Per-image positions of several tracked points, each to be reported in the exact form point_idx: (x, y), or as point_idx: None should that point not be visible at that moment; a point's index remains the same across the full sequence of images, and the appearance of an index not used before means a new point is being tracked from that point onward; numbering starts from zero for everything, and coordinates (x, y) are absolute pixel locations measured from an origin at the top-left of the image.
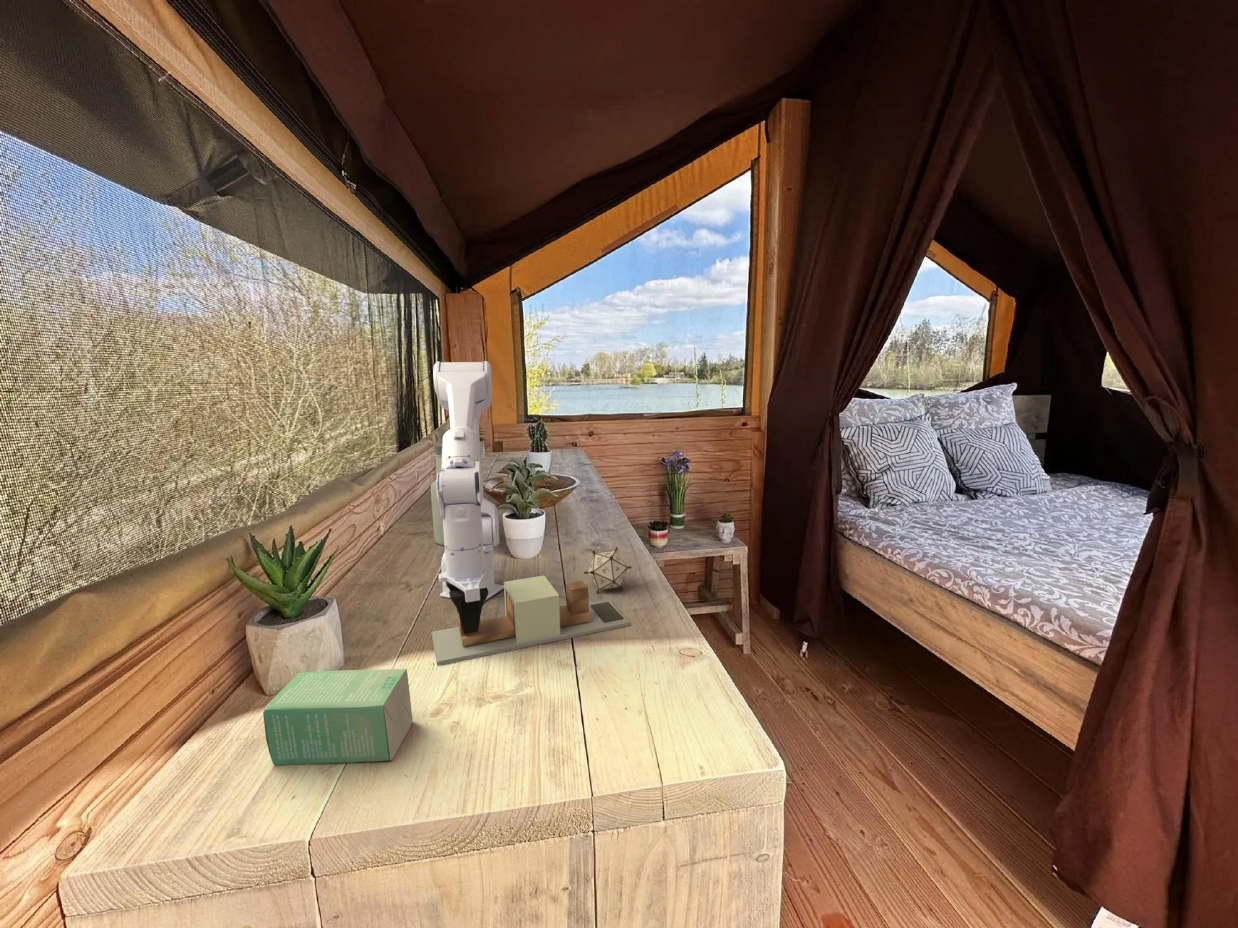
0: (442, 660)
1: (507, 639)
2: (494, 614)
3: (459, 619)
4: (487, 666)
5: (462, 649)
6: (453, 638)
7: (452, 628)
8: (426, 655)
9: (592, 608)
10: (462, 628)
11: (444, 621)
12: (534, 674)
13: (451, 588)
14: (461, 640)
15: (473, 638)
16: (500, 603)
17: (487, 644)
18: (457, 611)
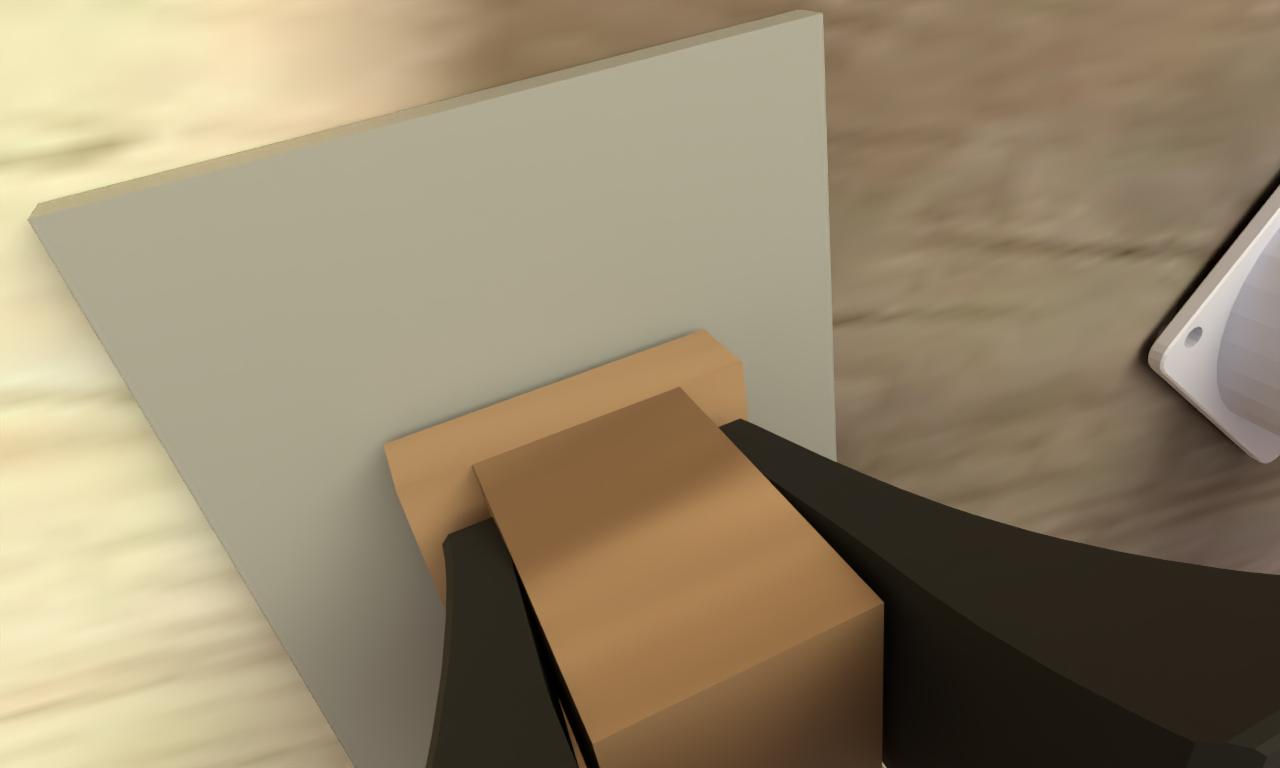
0: (78, 282)
1: None
2: (953, 486)
3: (615, 538)
4: (58, 695)
5: (351, 438)
6: (610, 291)
7: (817, 235)
8: (327, 12)
9: None
10: (452, 572)
11: (1016, 101)
12: None
13: (1110, 738)
14: (464, 434)
15: (432, 574)
16: (1081, 481)
17: (433, 617)
18: (808, 478)
